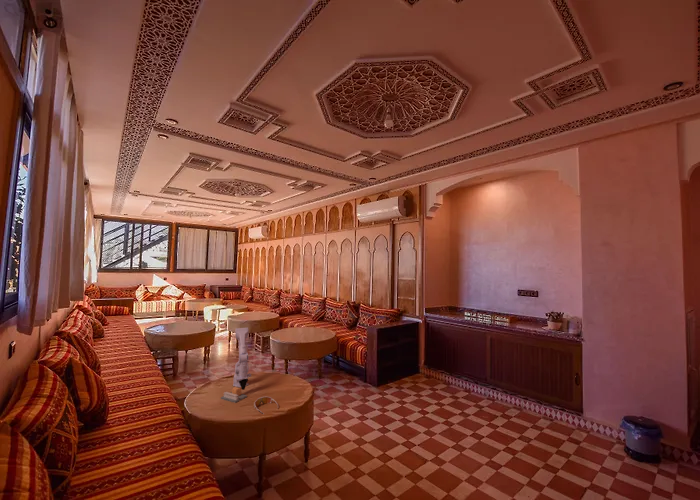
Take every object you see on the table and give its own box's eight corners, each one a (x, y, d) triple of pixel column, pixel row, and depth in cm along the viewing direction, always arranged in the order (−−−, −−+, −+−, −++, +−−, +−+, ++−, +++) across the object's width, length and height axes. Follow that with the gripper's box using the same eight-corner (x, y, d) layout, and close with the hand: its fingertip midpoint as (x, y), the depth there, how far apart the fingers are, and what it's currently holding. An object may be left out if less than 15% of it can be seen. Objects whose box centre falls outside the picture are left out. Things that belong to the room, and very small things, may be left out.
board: (220, 398, 225) (220, 393, 225) (232, 393, 235) (232, 387, 235) (235, 402, 219) (235, 397, 219) (247, 396, 229) (247, 391, 229)
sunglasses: (270, 400, 223) (270, 394, 222) (280, 411, 211) (281, 404, 211) (250, 407, 213) (251, 400, 213) (260, 419, 202) (261, 411, 202)
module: (231, 395, 228) (232, 388, 228) (237, 393, 232) (237, 385, 232) (236, 396, 226) (236, 389, 226) (241, 394, 230) (241, 386, 231)
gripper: (240, 374, 227) (239, 394, 226) (254, 368, 240) (254, 386, 239) (232, 373, 230) (232, 392, 229) (247, 367, 243) (247, 385, 242)
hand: (243, 389), depth 235 cm, fingers closed
